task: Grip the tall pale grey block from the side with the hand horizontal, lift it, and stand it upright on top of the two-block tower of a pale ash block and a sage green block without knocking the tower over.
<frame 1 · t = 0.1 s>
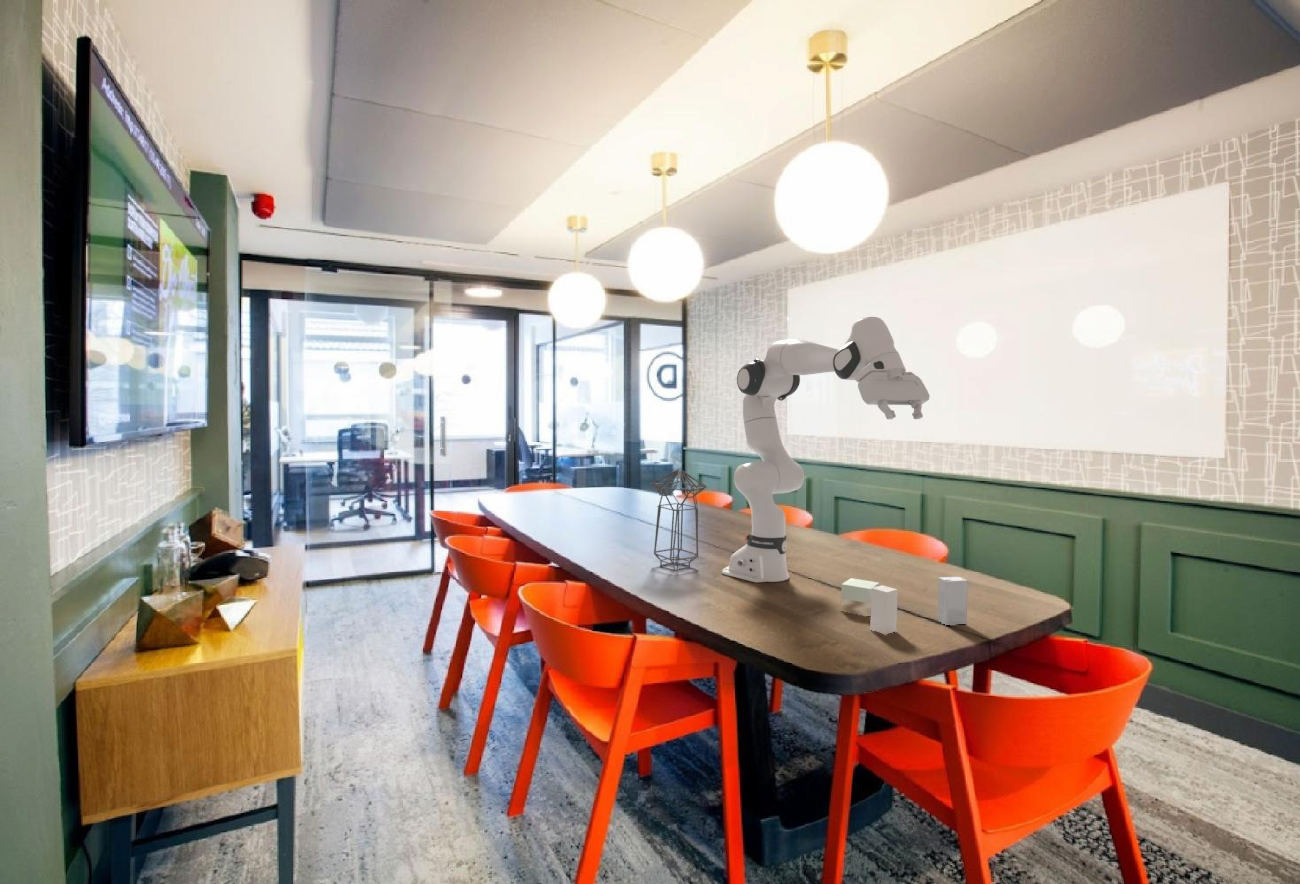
hand: (905, 418, 157), 54 cm above the table, tool tilted 30°, fingers open, 8 cm apart
ash block: (859, 611, 176), on the table, touching sage block
sage block: (860, 597, 175), point 4 cm above the table, touching ash block
geometric lantern: (677, 567, 222), on the table
skincare box: (951, 624, 166), on the table
tall grey block: (883, 631, 159), on the table
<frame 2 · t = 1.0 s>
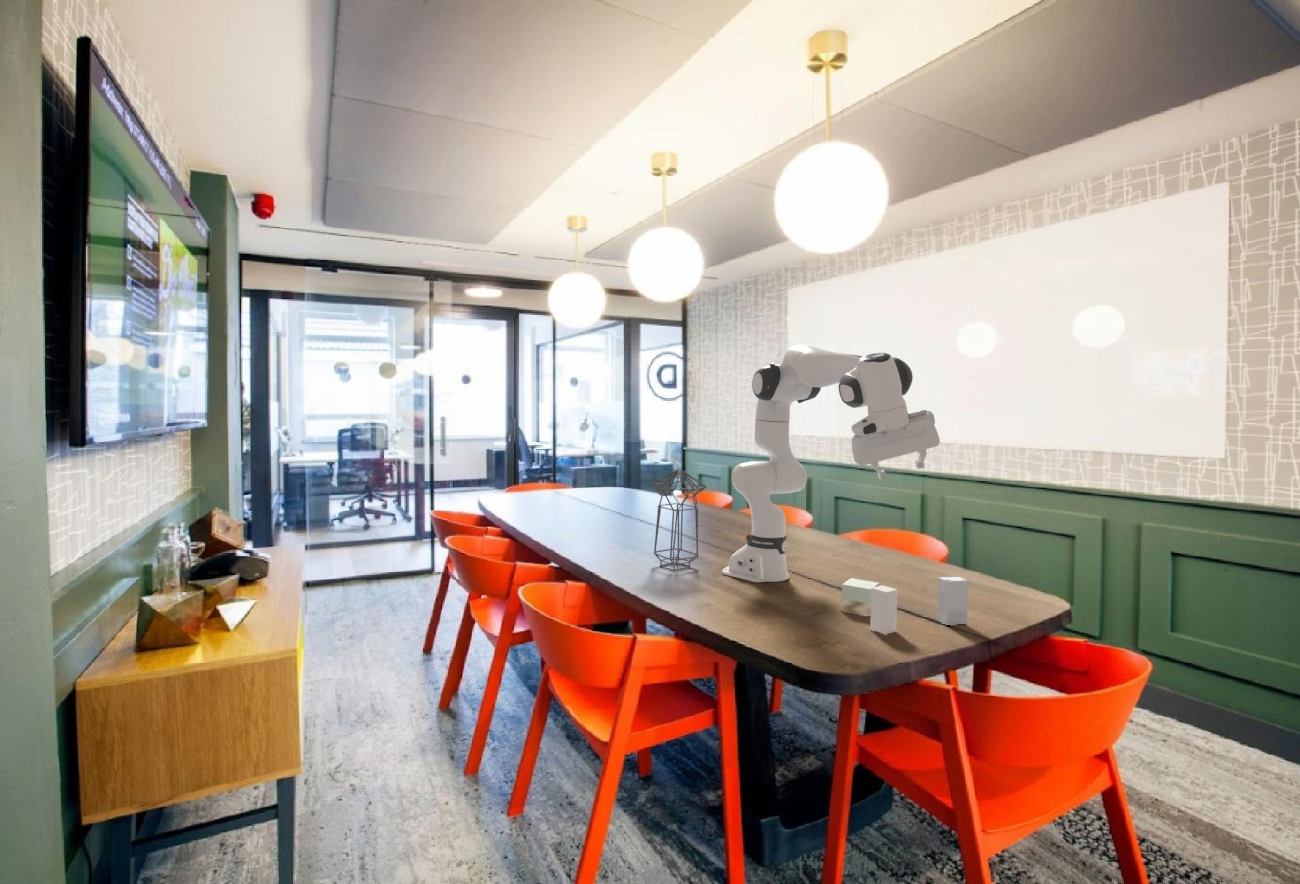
hand: (901, 473, 154), 41 cm above the table, tool tilted 15°, fingers open, 8 cm apart
nothing on the table moved.
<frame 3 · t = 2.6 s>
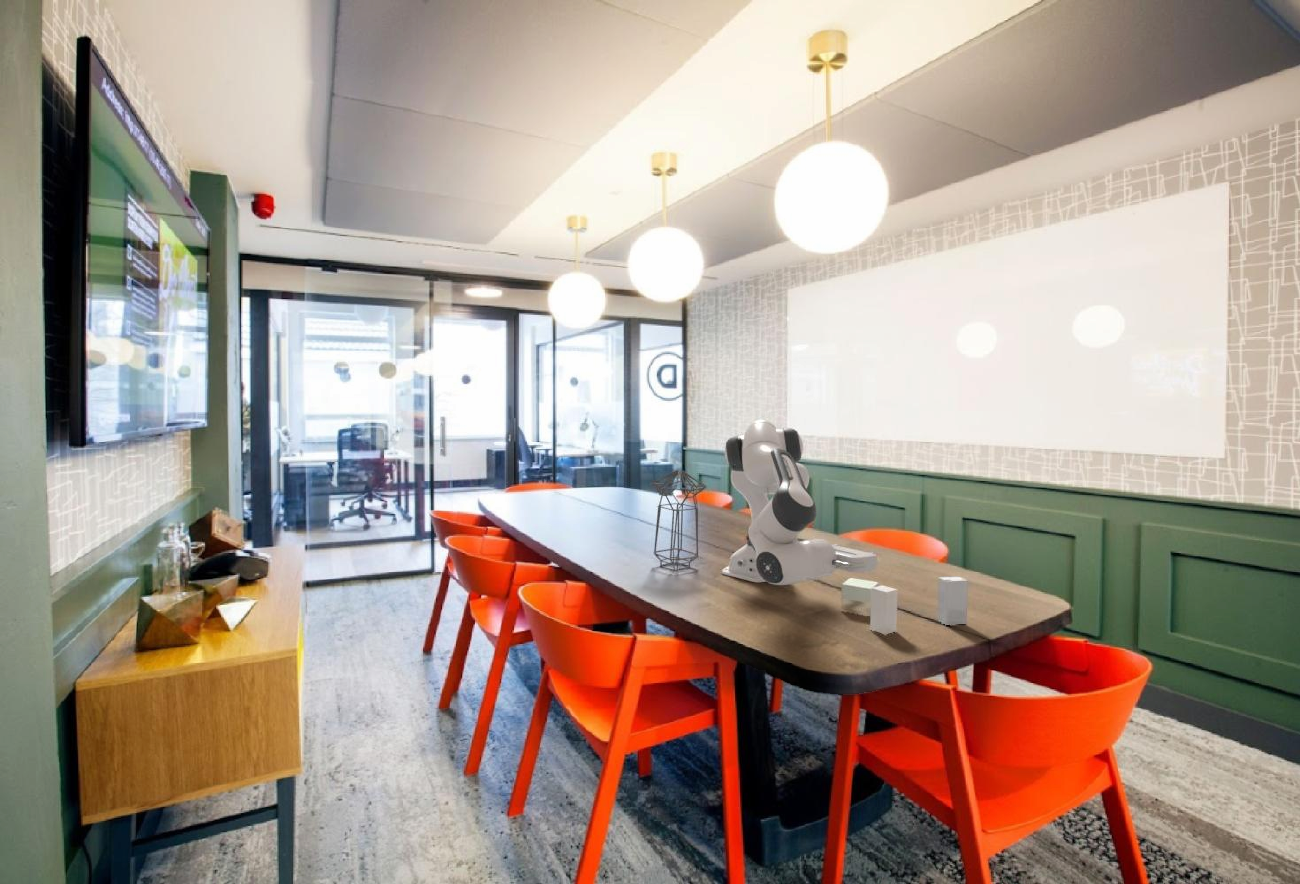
hand: (855, 551, 151), 22 cm above the table, tool horizontal, fingers open, 8 cm apart
ash block: (859, 611, 176), on the table
sage block: (859, 597, 176), point 4 cm above the table
everything else where it was.
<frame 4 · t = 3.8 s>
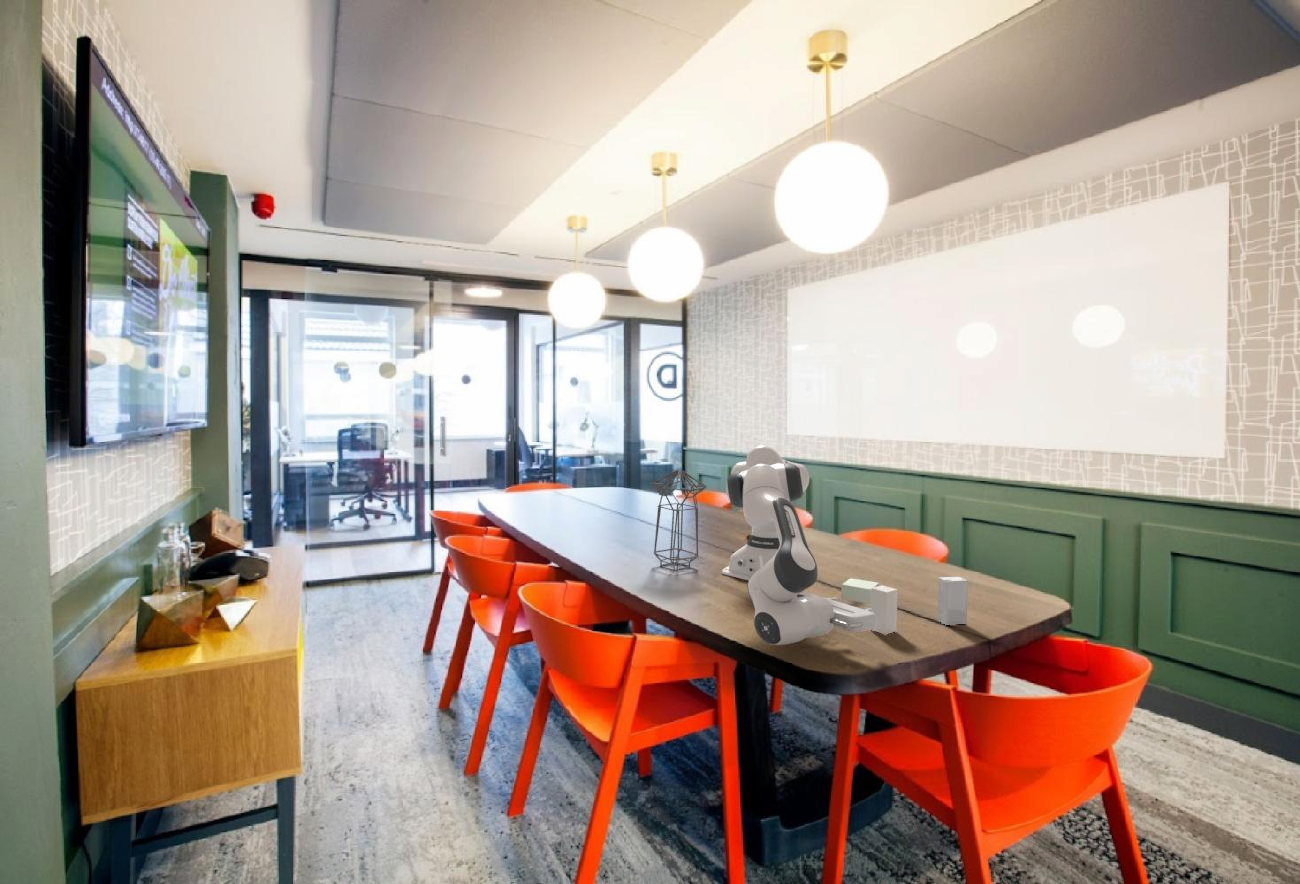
hand: (853, 606, 152), 9 cm above the table, tool horizontal, fingers open, 8 cm apart
ash block: (859, 611, 176), on the table, touching sage block
sage block: (859, 597, 175), point 4 cm above the table, touching ash block
everything else where it was.
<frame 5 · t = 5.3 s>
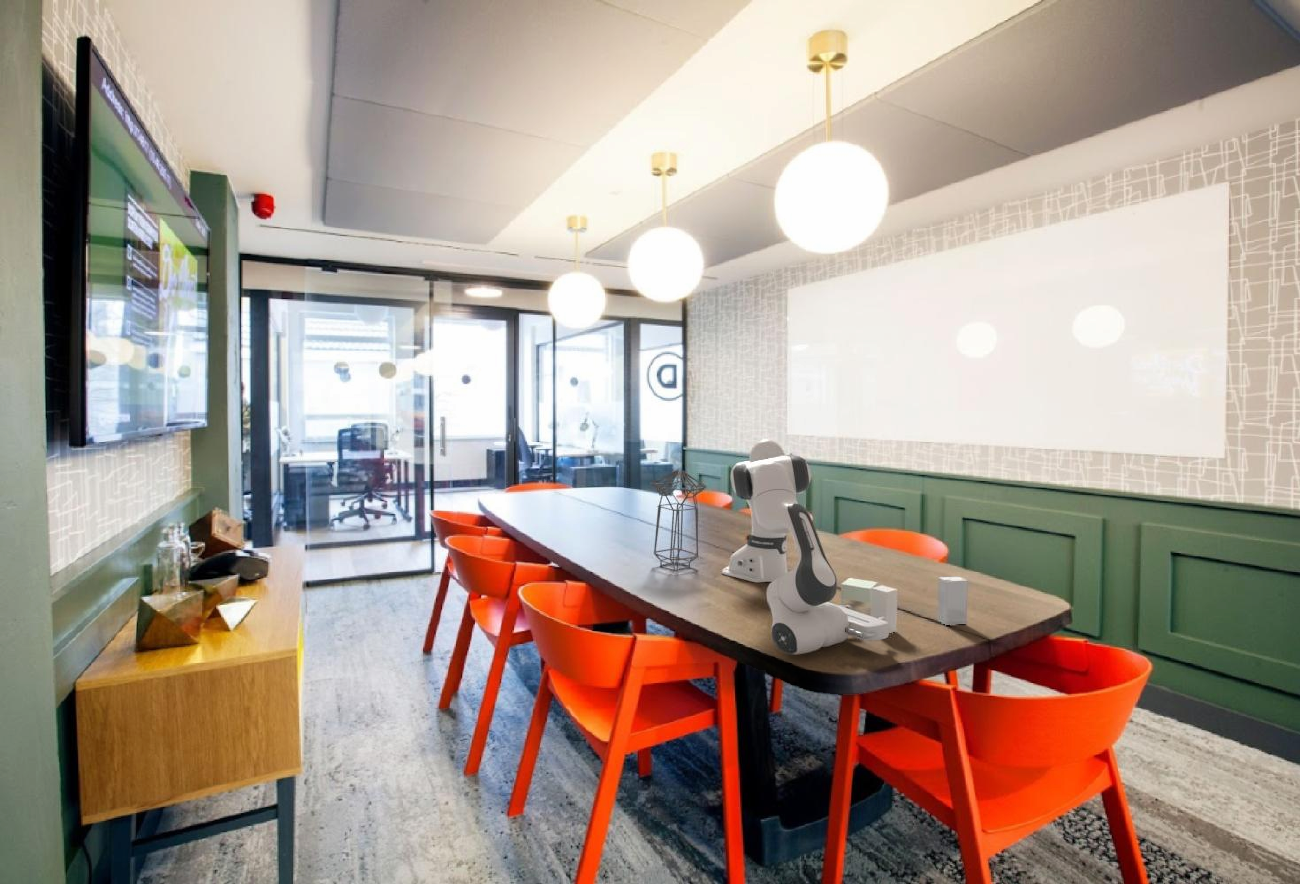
hand: (866, 613, 156), 6 cm above the table, tool horizontal, fingers open, 8 cm apart
nothing on the table moved.
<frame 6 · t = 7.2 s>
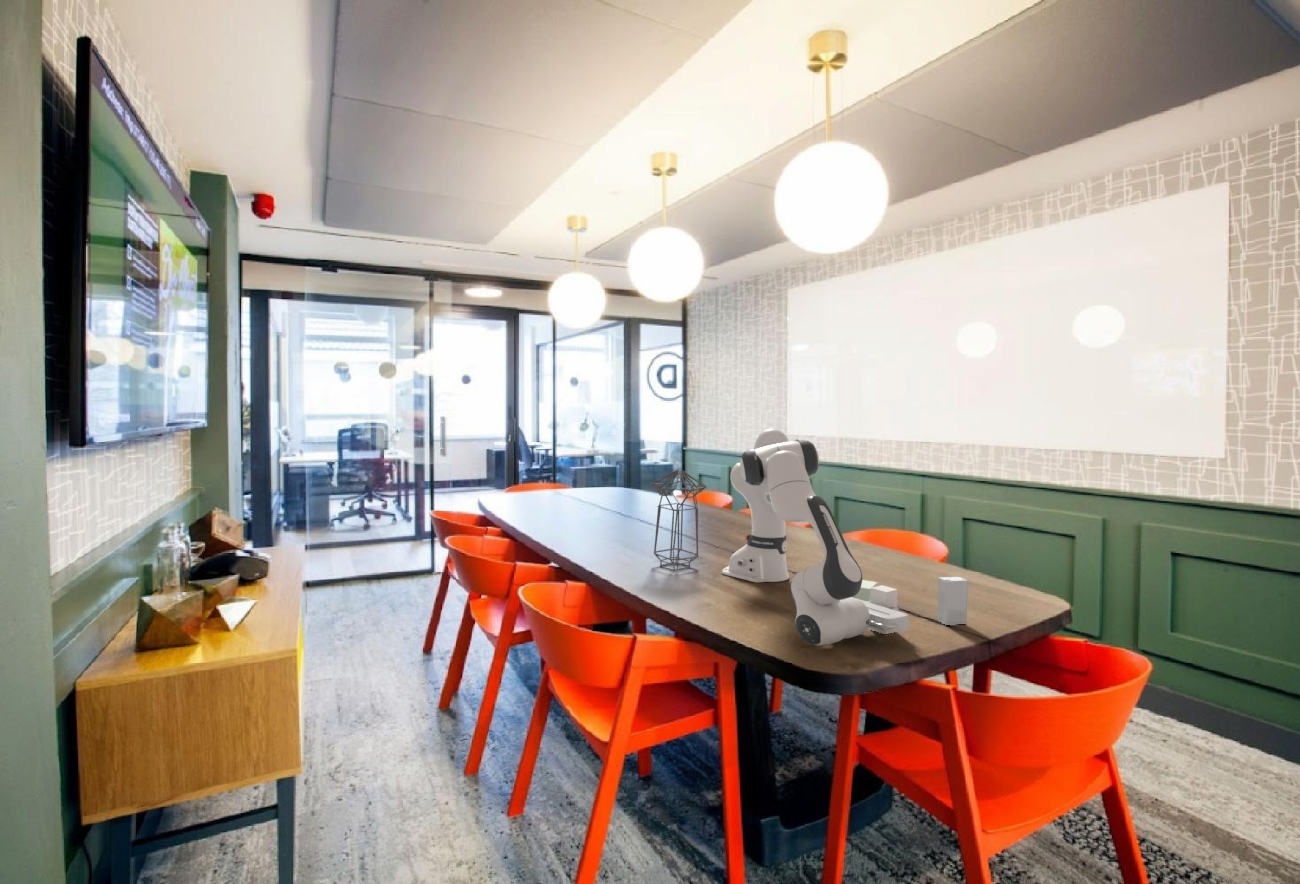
hand: (885, 607, 160), 6 cm above the table, tool horizontal, fingers closed on tall grey block, 4 cm apart
tall grey block: (883, 631, 159), on the table, touching gripper
everything else where it was.
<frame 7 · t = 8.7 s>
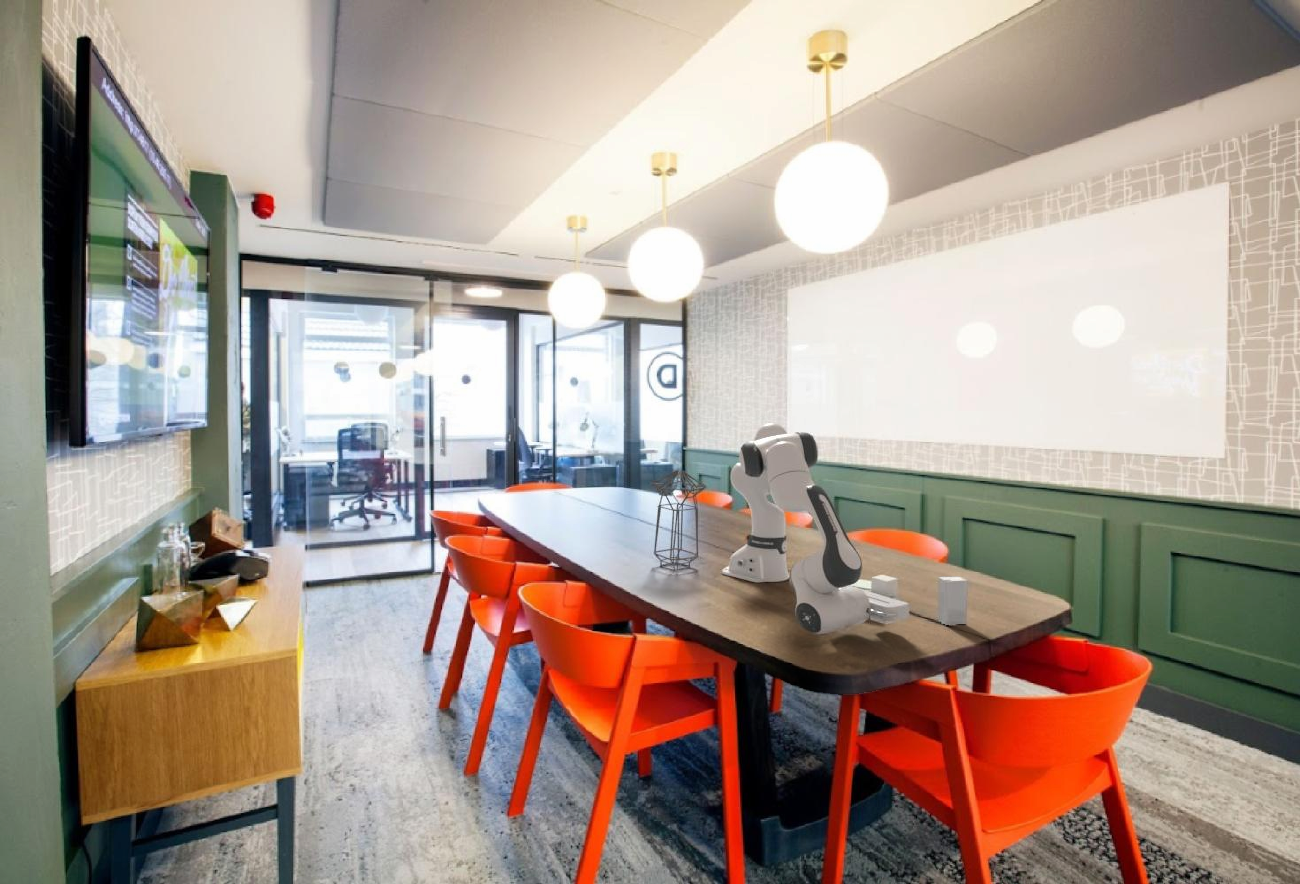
hand: (886, 596, 160), 9 cm above the table, tool horizontal, fingers closed on tall grey block, 4 cm apart
tall grey block: (883, 620, 159), point 3 cm above the table, touching gripper
everything else where it was.
when the fingers open (15 cm above the table, at t = 13.9 s): tall grey block drops 1 cm, resting on sage block.
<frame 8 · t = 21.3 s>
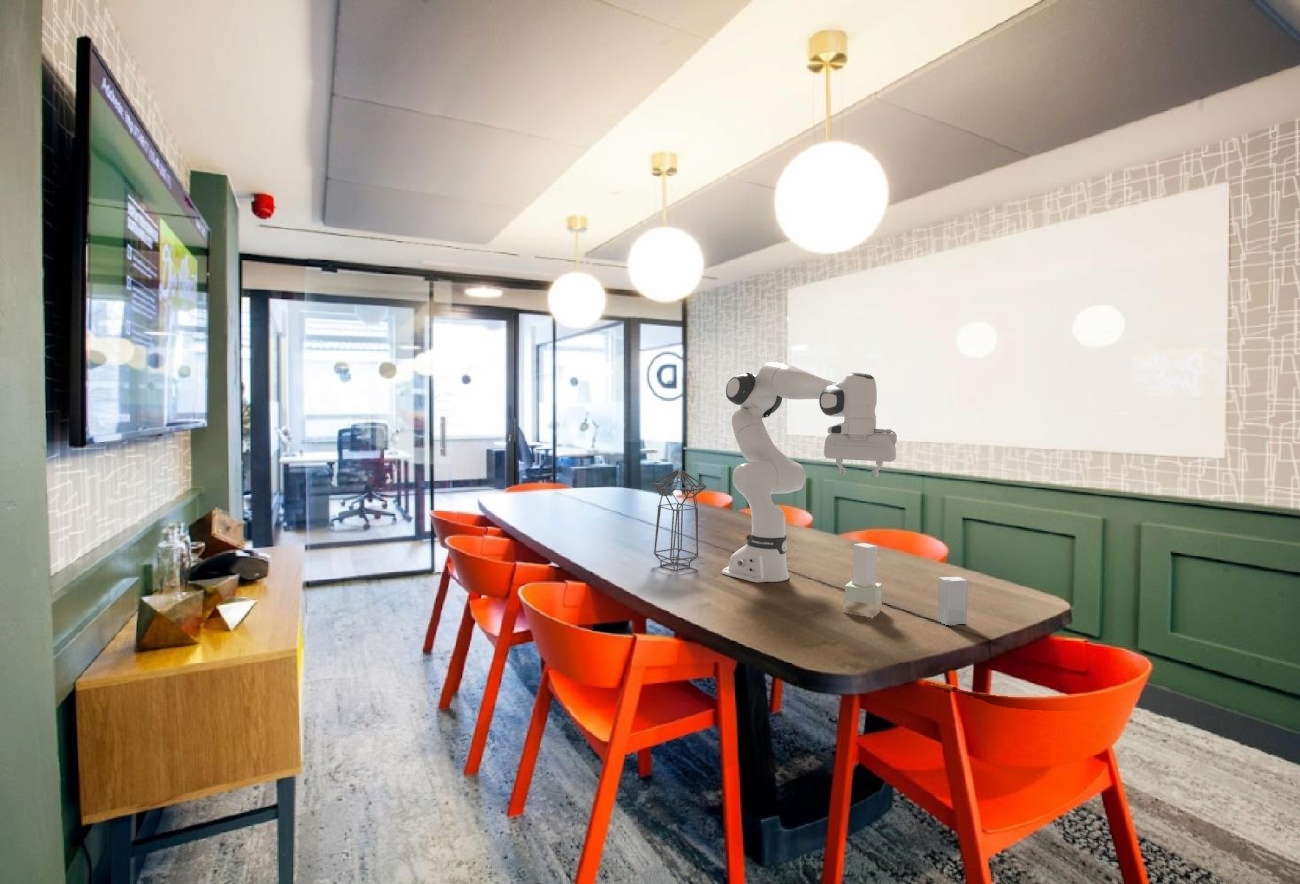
hand: (858, 475, 183), 37 cm above the table, tool pointing down, fingers open, 8 cm apart
ash block: (862, 612, 175), on the table, touching sage block
sage block: (863, 598, 175), point 4 cm above the table, touching ash block, tall grey block
tall grey block: (863, 584, 175), point 8 cm above the table, touching sage block
everything else where it was.
at the end: tall grey block inside the target area on the sage block (0.4 cm from its centre), point 4.0 cm above the sage block's base; sage block 0.1 cm off-centre on the ash block, point 4.0 cm above the ash block's base; tall grey block tilted 1° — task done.
